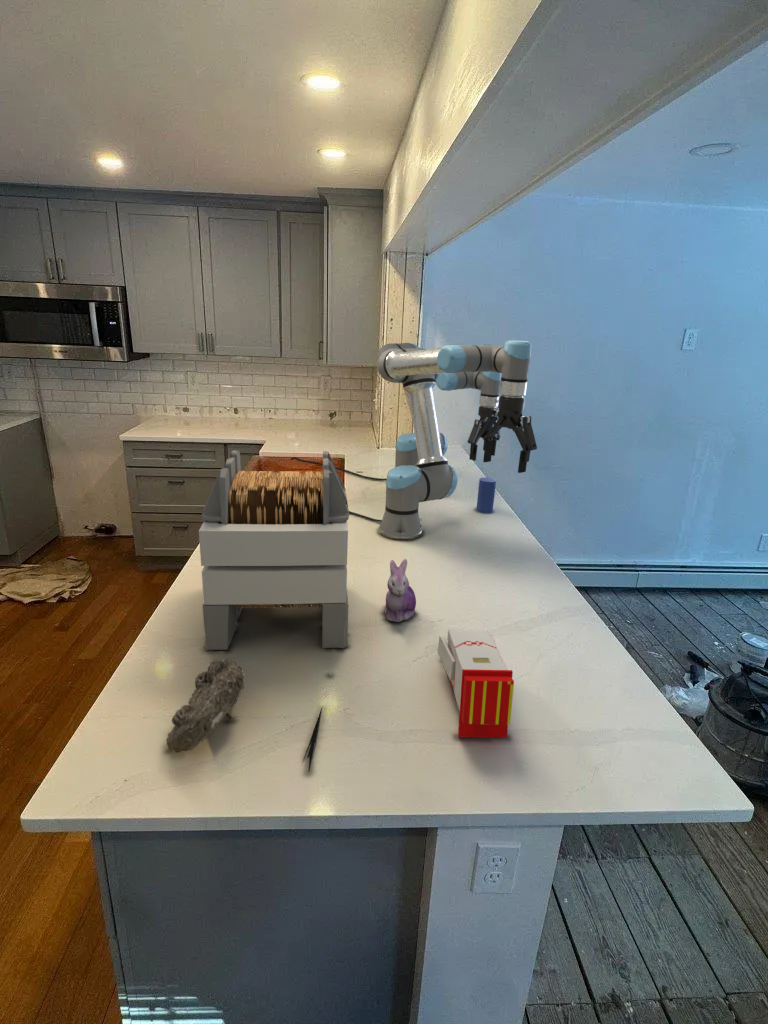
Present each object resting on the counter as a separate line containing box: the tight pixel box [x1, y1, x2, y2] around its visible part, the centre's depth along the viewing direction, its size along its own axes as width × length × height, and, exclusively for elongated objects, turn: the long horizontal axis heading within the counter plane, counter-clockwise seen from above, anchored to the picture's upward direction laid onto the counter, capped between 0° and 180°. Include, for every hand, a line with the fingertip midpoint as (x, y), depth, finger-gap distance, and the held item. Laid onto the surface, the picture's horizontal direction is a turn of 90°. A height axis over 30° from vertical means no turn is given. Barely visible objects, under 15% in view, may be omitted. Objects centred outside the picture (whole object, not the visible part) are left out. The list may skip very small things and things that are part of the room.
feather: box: [301, 673, 332, 771], centre depth 108 cm, size 2×28×2 cm
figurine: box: [384, 558, 417, 623], centre depth 145 cm, size 9×10×15 cm
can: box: [475, 476, 497, 514], centre depth 225 cm, size 6×6×13 cm
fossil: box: [166, 658, 245, 754], centre depth 106 cm, size 22×10×15 cm
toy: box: [437, 628, 515, 738], centre depth 117 cm, size 12×13×30 cm
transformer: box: [198, 449, 350, 651], centre depth 138 cm, size 34×33×41 cm
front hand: (503, 466), depth 172 cm, fingers open, 13 cm apart
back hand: (482, 457), depth 236 cm, fingers open, 13 cm apart
